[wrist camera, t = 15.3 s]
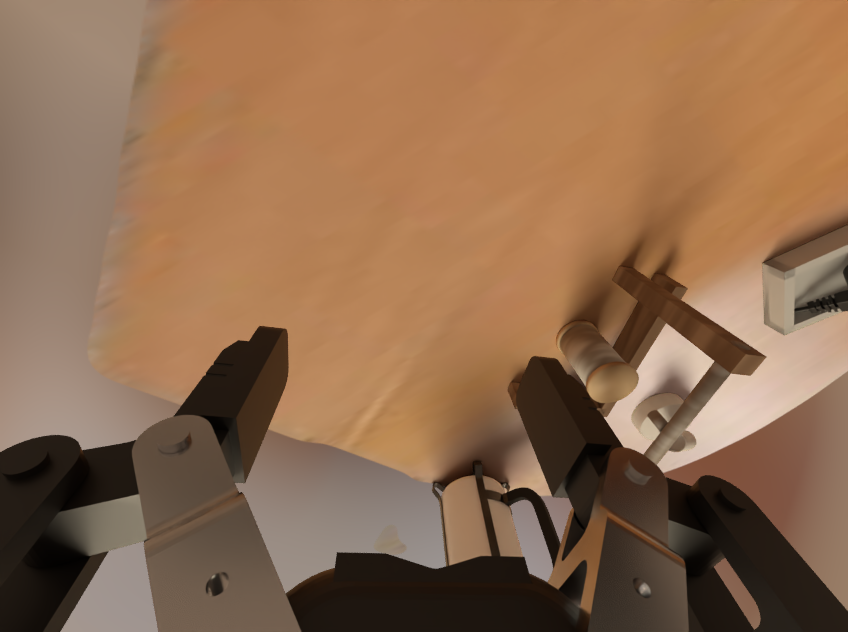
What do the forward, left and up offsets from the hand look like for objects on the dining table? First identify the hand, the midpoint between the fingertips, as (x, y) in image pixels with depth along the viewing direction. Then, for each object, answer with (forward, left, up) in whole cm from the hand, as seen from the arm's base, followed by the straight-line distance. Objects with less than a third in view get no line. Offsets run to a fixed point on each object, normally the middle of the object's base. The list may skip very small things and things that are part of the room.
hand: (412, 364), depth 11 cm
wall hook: (-18, +52, -30) cm, 63 cm away
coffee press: (+16, +52, -30) cm, 62 cm away
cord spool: (-11, +30, -30) cm, 44 cm away
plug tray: (-44, +37, -30) cm, 65 cm away
